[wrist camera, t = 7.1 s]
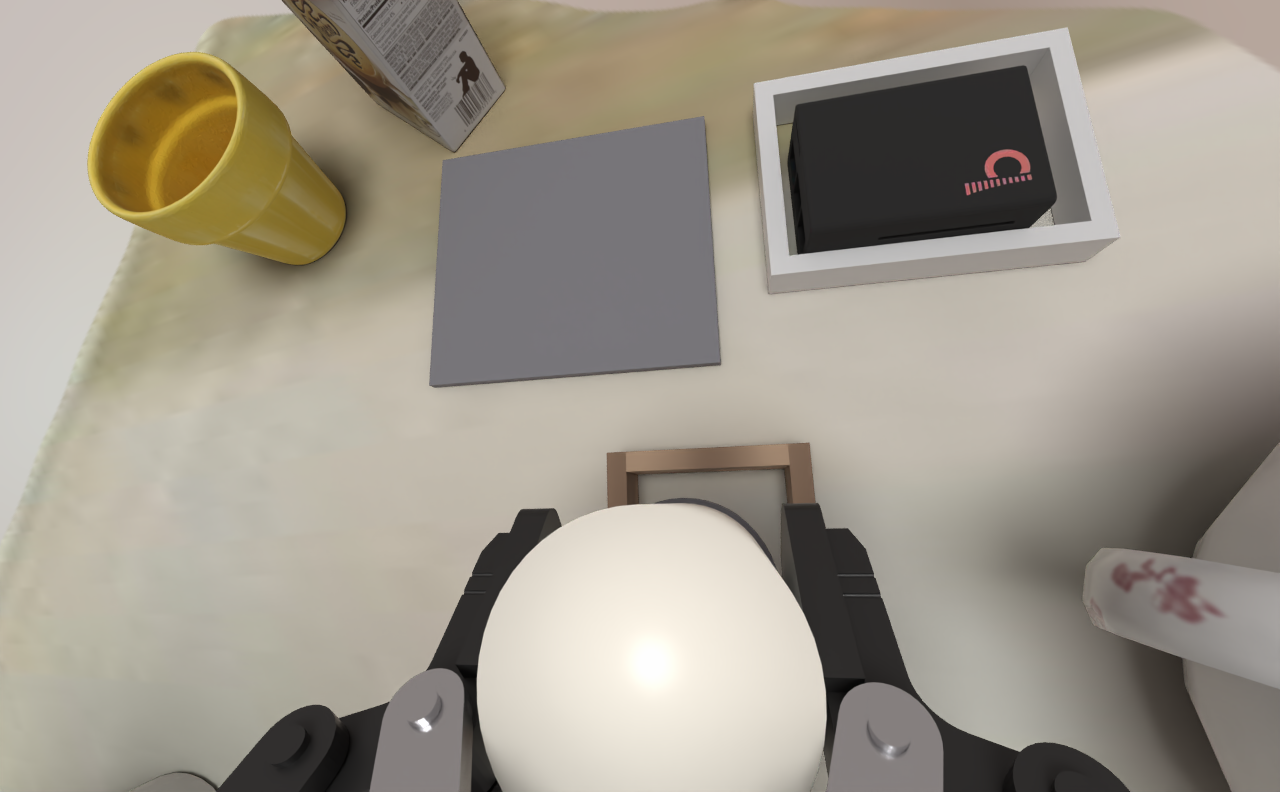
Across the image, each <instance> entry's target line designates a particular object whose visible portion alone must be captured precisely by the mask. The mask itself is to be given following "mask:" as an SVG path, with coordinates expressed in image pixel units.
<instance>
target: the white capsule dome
mask: <svg viewBox="0 0 1280 792" xmlns="http://www.w3.org/2000/svg"><path fill="white" fill-rule="evenodd" d="M477 706H478V714H479V722H480V729H481V733H482V737H483V741H484V745H485V749H486V753H487V756H488V758H489V761H490V764H491V767H492V769H493V772H494V775H495V777H496V779H497V781H498V783H499V785H500V787H501V789H502V791H503V792H811V789H812V787H813V784H814V781H815V779H816V776H817V773H818V770H819V765H820V761H821V757H822V752H823V748H824V741H825V730H826V720H827V715H826V690H825V683H824V677H823V670H822V664H821V661H820V657H819V654H818V650H817V646H816V643H815V639H814V637H813V634H812V632H811V630H810V627H809V625H808V622H807V620H806V618H805V615H804V613H803V611H802V610H801V608H800V606H799V604H798V603H797V601H796V599H795V597H794V595H793V594H792V592H791V591H790V589H789V588H788V586H787V585H786V583H785V582H784V580H783V579H782V577H781V576H780V575H779V573H778V572H777V569H776V566H775V564H774V561H773V559H772V556H771V554H770V553H769V551H768V549H767V547H766V545H765V544H764V542H763V541H762V540H761V538H760V537H759V535H758V534H757V533H756V532H755V531H754V530H753V528H752V527H751V526H750V525H749V524H748V523H747V522H746V521H744V520H743V519H742V518H741V517H739V516H738V515H737V514H735V513H734V512H732V511H730V510H729V509H727V508H725V507H723V506H721V505H718V504H716V503H713V502H709V501H706V500H700V499H693V498H677V499H669V500H664V501H660V502H657V503H654V504H637V505H626V506H616V507H612V508H607V509H603V510H599V511H595V512H592V513H590V514H587V515H585V516H582V517H579V518H577V519H575V520H573V521H571V522H569V523H567V524H566V525H564V526H562V527H560V528H558V529H557V530H556V531H554V532H553V533H551V534H550V535H549V536H547V537H546V538H545V539H543V540H542V541H541V542H540V543H539V544H538V545H537V546H535V547H534V548H533V549H532V550H531V551H530V552H529V553H528V554H527V555H526V556H525V557H524V559H523V560H522V561H521V562H520V564H519V565H518V566H517V567H516V568H515V570H514V571H513V572H512V574H511V575H510V577H509V578H508V580H507V582H506V583H505V585H504V586H503V588H502V590H501V591H500V593H499V596H498V598H497V600H496V602H495V604H494V606H493V608H492V610H491V613H490V616H489V619H488V622H487V625H486V628H485V631H484V635H483V640H482V644H481V649H480V654H479V662H478V672H477Z"/></svg>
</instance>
